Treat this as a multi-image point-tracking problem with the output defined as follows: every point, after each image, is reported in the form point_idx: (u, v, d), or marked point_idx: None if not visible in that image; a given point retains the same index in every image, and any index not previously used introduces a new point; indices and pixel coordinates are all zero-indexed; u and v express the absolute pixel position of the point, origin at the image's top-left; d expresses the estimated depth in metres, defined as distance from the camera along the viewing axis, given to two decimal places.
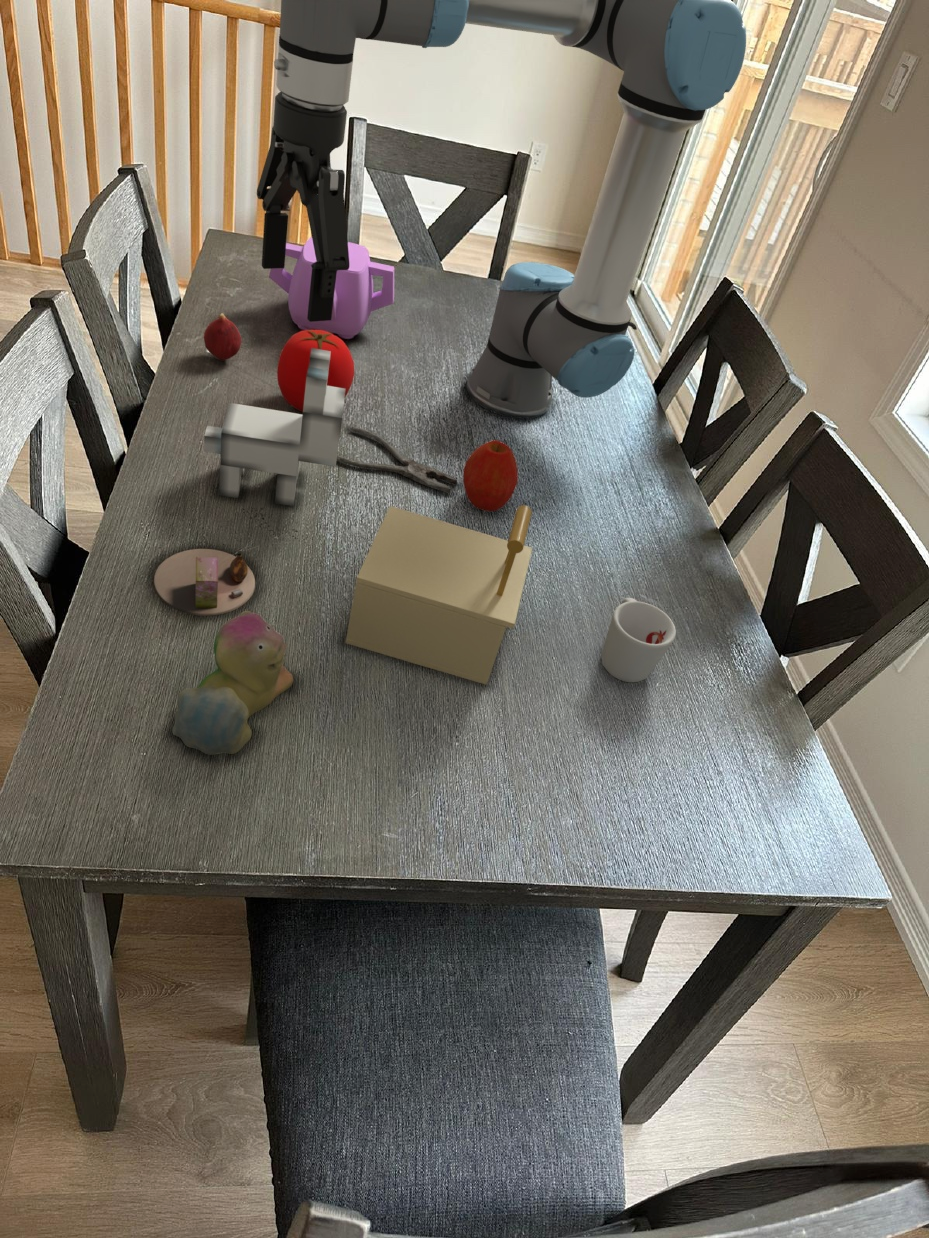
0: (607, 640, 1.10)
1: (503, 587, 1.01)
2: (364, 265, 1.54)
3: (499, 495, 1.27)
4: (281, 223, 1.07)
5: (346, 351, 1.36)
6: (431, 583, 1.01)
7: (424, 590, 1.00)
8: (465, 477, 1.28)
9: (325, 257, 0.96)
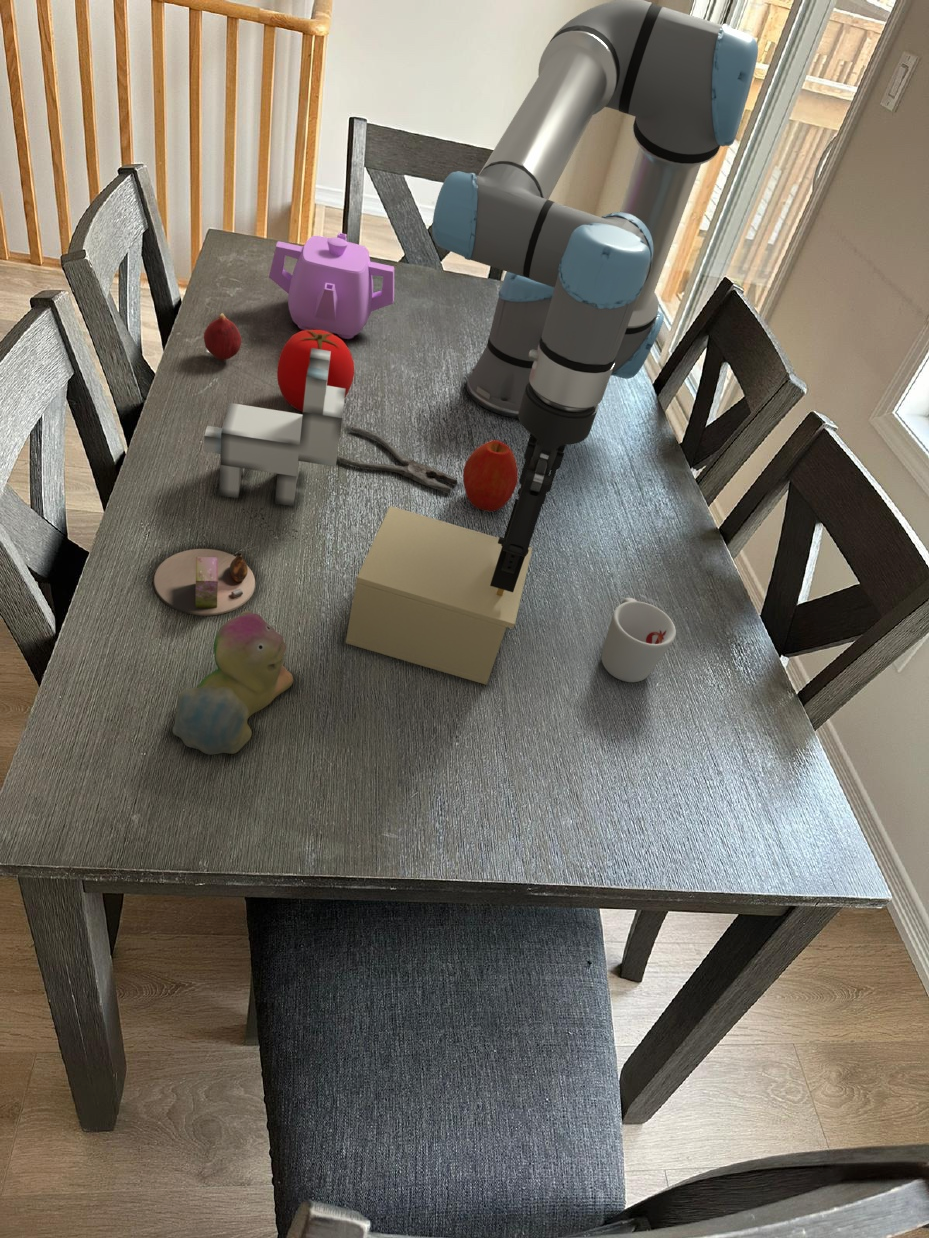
0: (607, 640, 1.10)
1: None
2: (364, 265, 1.54)
3: (499, 495, 1.27)
4: None
5: (346, 351, 1.36)
6: (431, 583, 1.01)
7: (424, 590, 1.00)
8: (465, 477, 1.28)
9: None
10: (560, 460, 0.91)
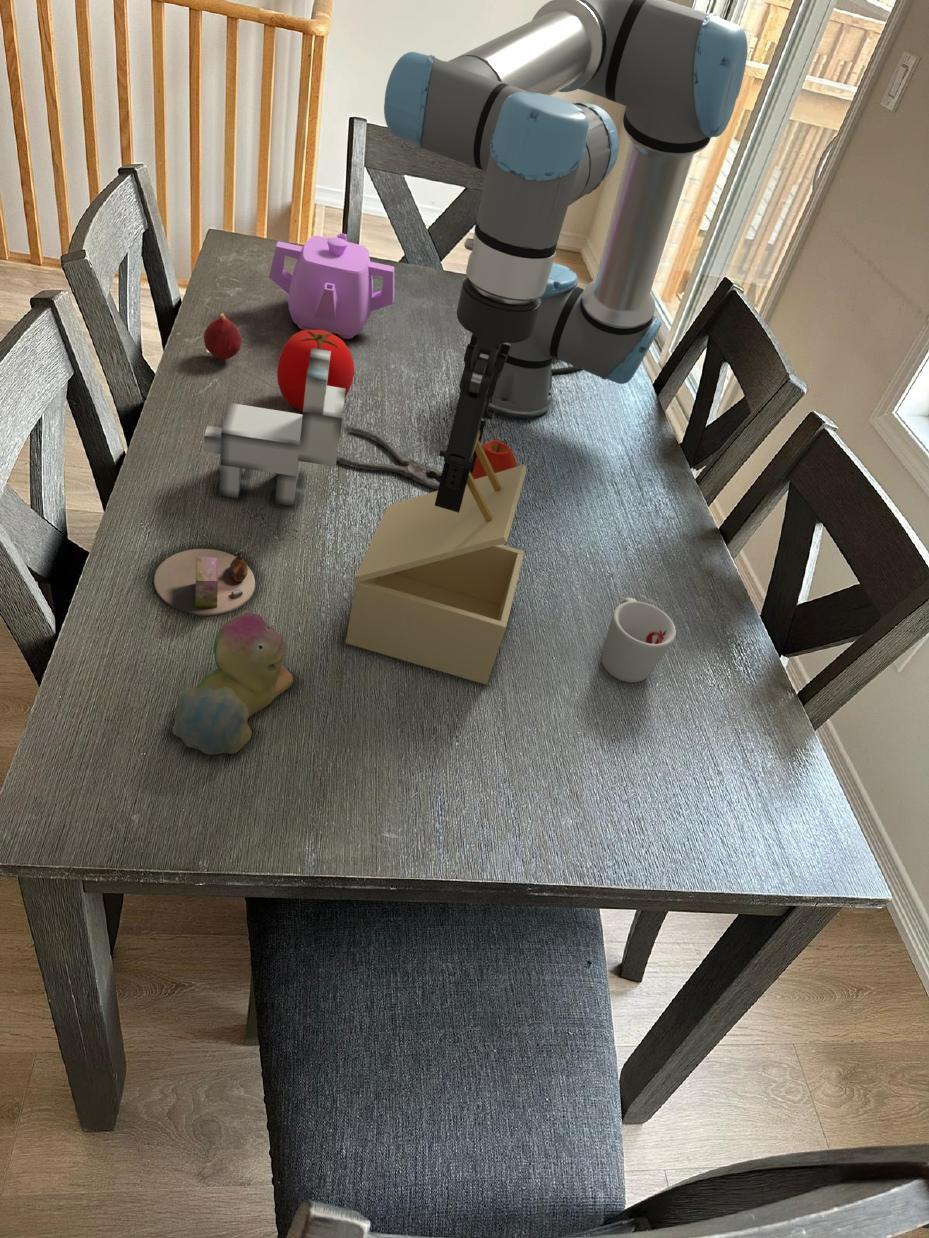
0: (607, 640, 1.10)
1: (485, 511, 0.95)
2: (364, 265, 1.54)
3: None
4: None
5: (346, 351, 1.36)
6: (423, 546, 0.98)
7: (416, 555, 0.97)
8: None
9: None
10: (502, 362, 0.85)
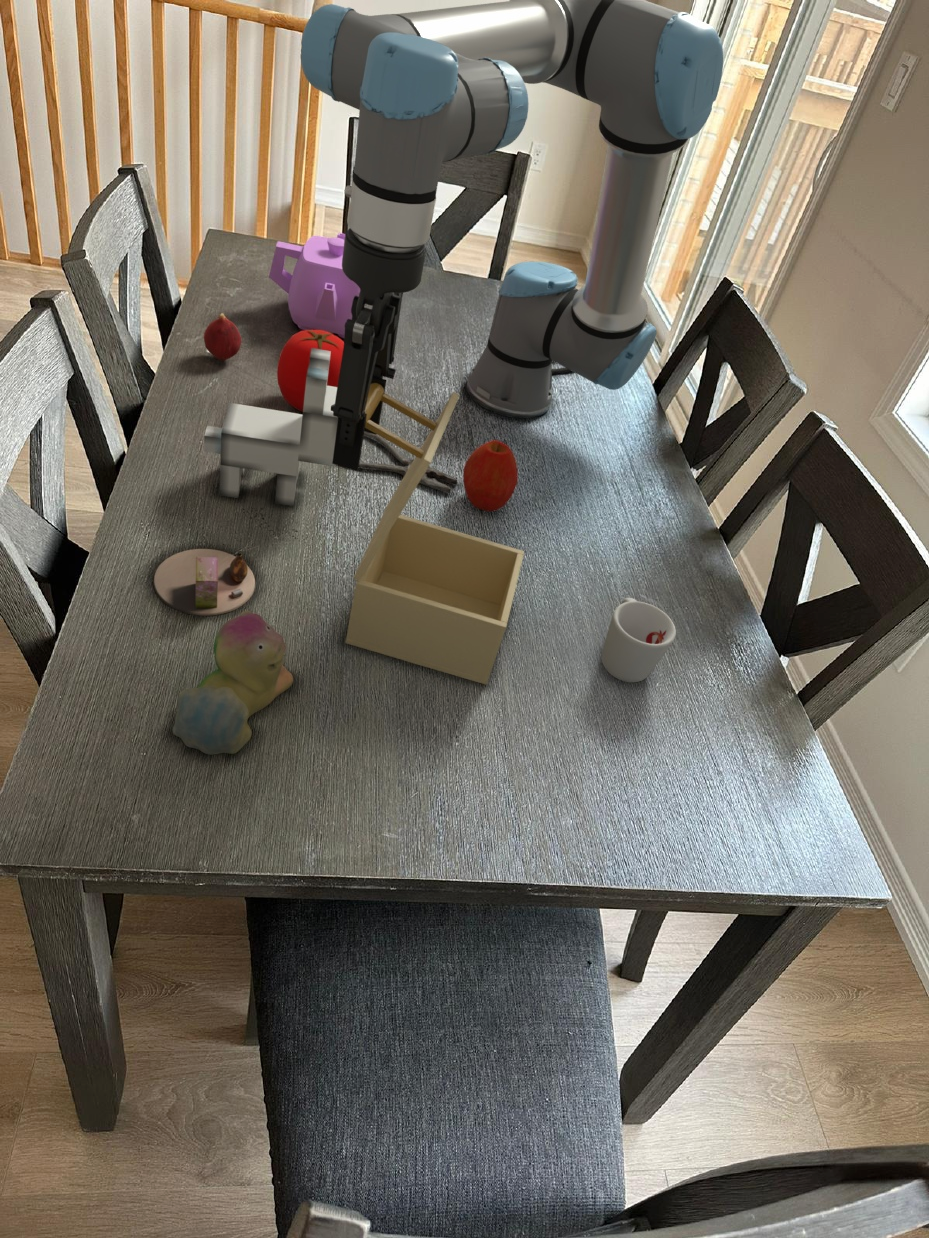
0: (607, 640, 1.10)
1: (411, 449, 0.92)
2: None
3: (499, 495, 1.27)
4: None
5: None
6: (388, 515, 0.96)
7: (382, 526, 0.95)
8: (465, 477, 1.28)
9: None
10: (389, 314, 0.84)
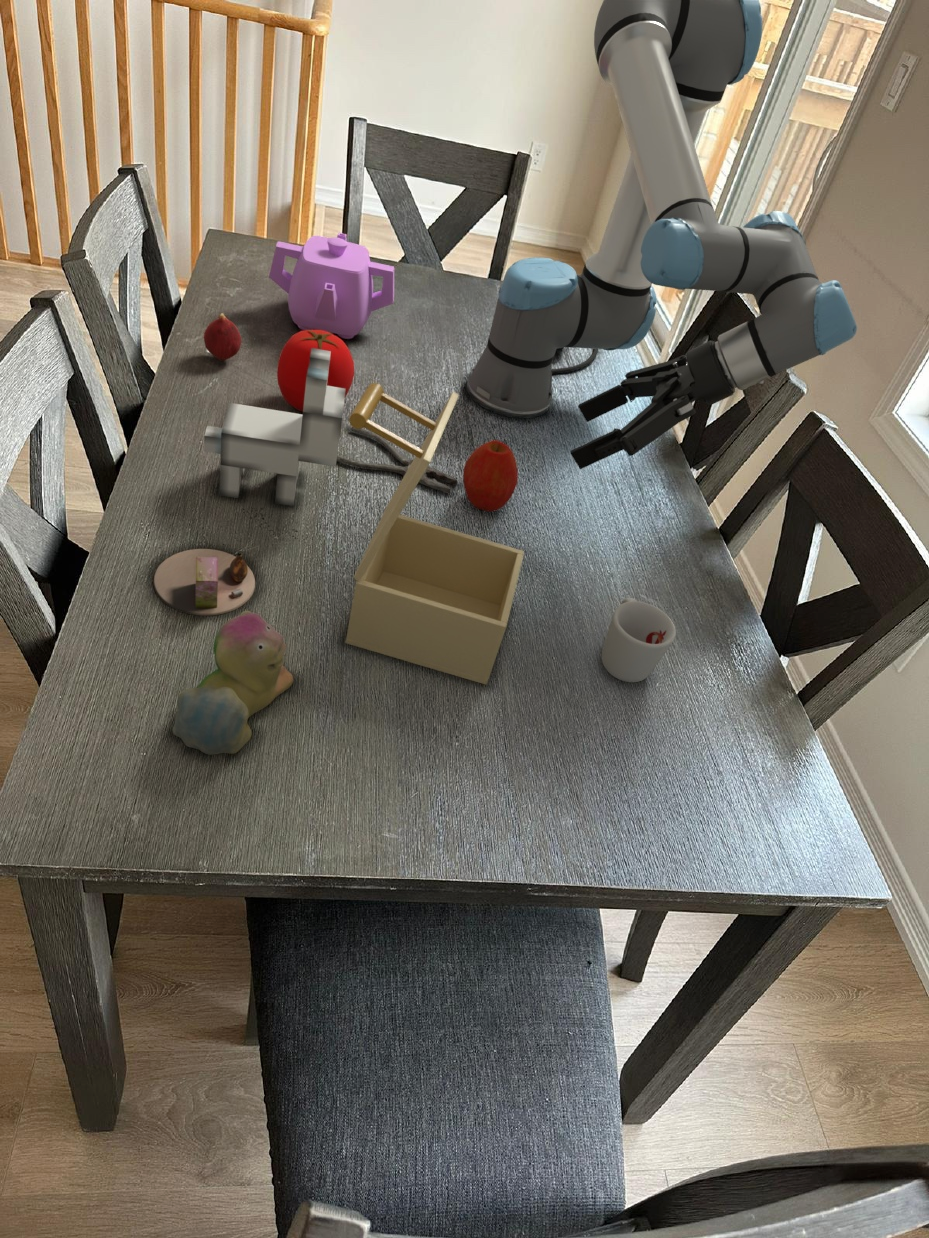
0: (607, 640, 1.10)
1: (410, 448, 0.92)
2: (364, 265, 1.54)
3: (499, 495, 1.27)
4: None
5: (346, 351, 1.36)
6: (388, 515, 0.96)
7: (382, 526, 0.95)
8: (465, 477, 1.28)
9: None
10: None
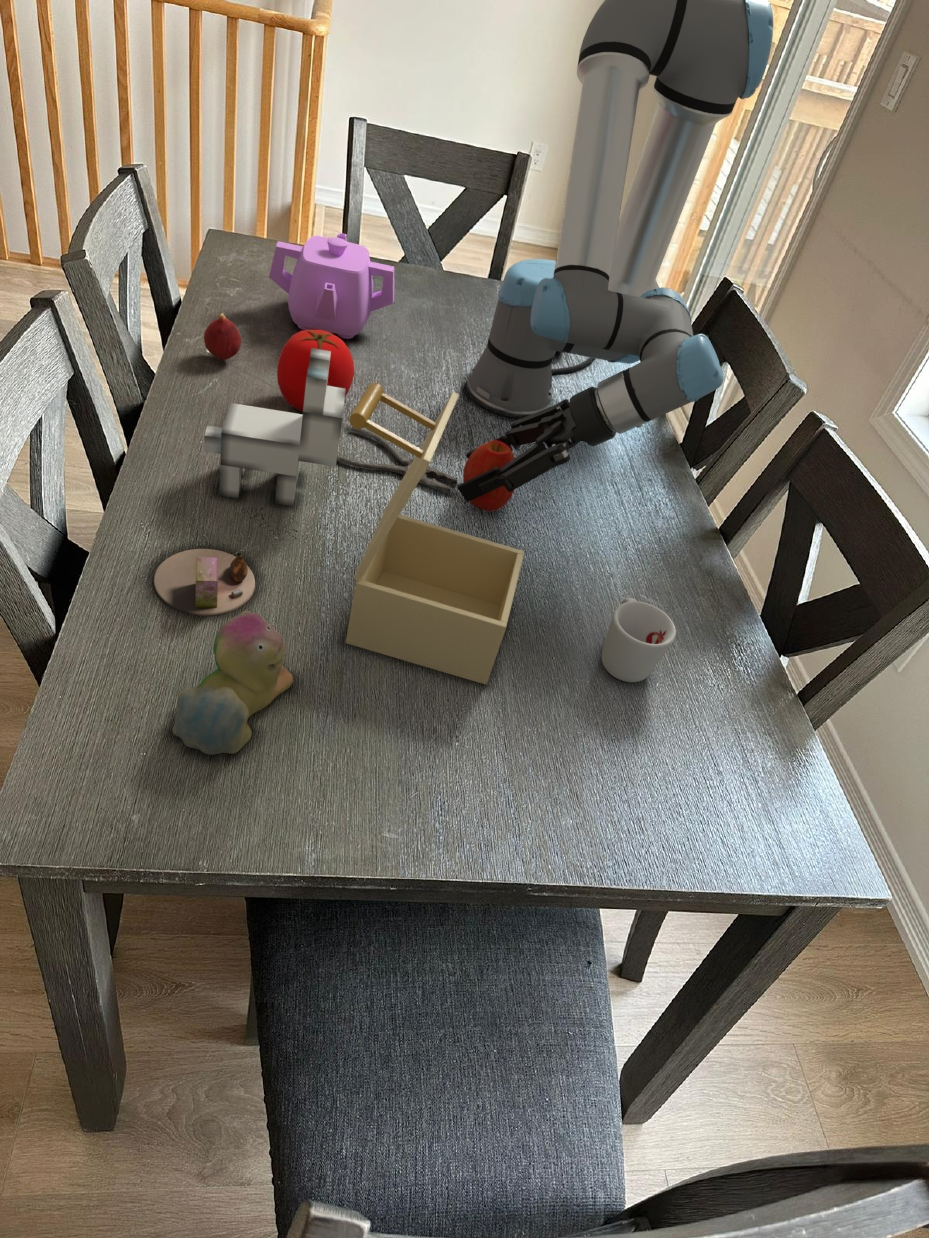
0: (607, 640, 1.10)
1: (410, 448, 0.92)
2: (364, 265, 1.54)
3: (499, 495, 1.27)
4: None
5: (346, 351, 1.36)
6: (388, 515, 0.96)
7: (382, 526, 0.95)
8: (465, 477, 1.28)
9: None
10: None
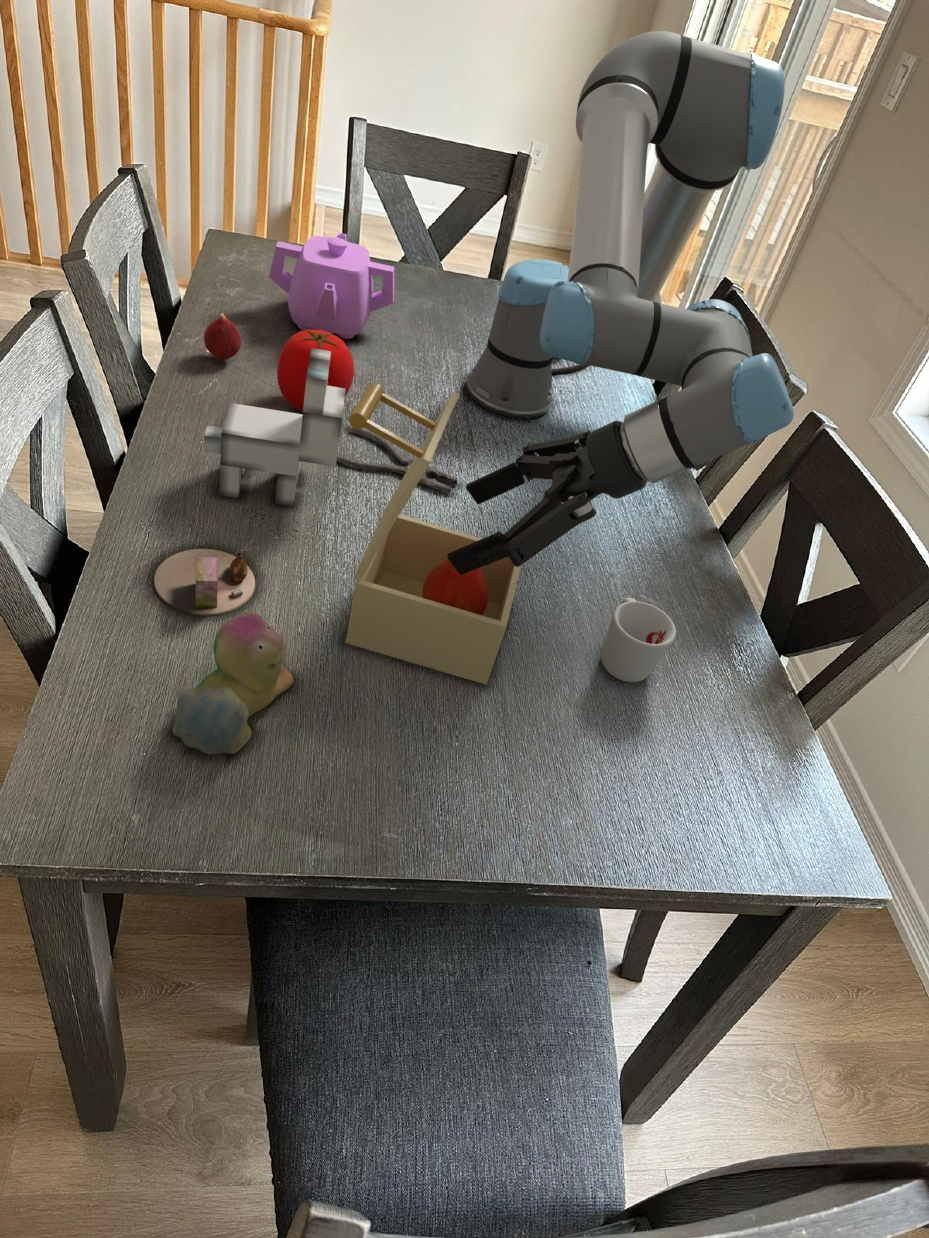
0: (607, 640, 1.10)
1: (410, 448, 0.92)
2: (364, 265, 1.54)
3: None
4: None
5: (346, 351, 1.36)
6: (388, 515, 0.96)
7: (382, 526, 0.95)
8: None
9: None
10: None
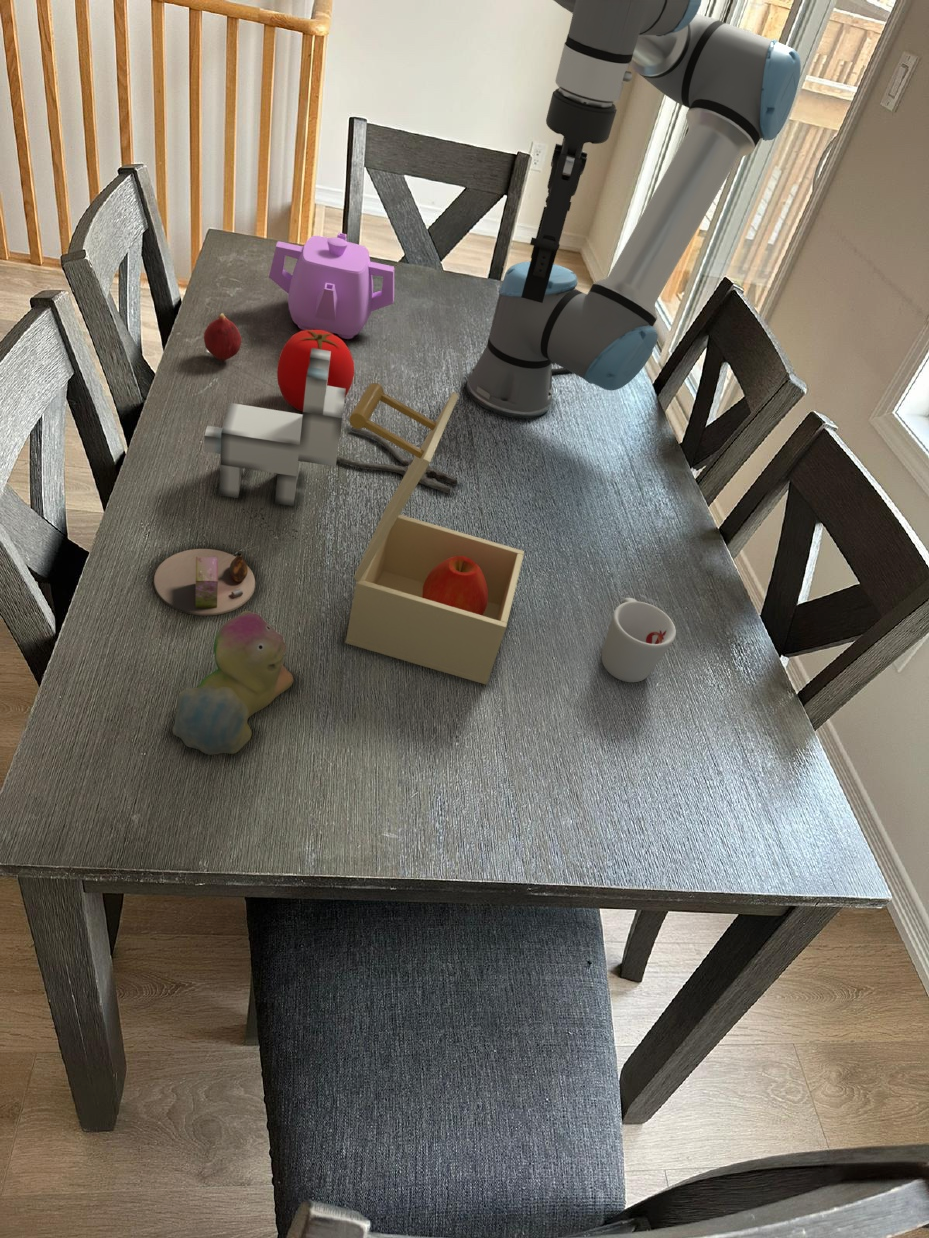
0: (607, 640, 1.10)
1: (410, 448, 0.92)
2: (364, 265, 1.54)
3: None
4: None
5: (346, 351, 1.36)
6: (388, 515, 0.96)
7: (382, 526, 0.95)
8: None
9: None
10: None
